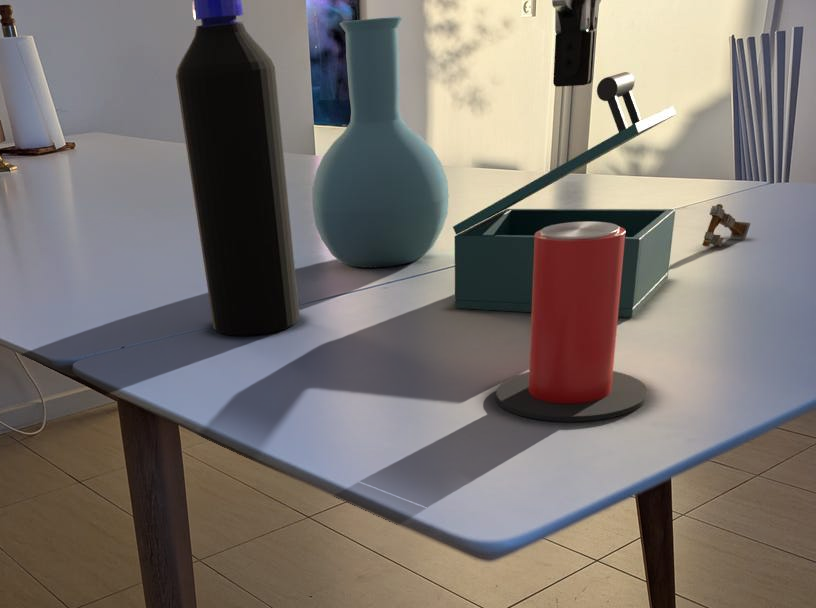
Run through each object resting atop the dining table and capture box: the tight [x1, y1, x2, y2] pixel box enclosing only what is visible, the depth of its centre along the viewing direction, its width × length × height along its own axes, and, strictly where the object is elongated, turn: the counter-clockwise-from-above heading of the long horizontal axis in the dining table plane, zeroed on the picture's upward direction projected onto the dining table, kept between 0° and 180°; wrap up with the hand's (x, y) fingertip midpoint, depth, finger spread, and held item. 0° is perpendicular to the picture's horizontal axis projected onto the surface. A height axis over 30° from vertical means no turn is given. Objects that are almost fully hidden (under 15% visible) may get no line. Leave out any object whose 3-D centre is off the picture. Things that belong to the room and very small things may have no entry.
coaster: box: [495, 370, 649, 423], centre depth 68 cm, size 11×11×1 cm
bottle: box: [175, 0, 300, 337], centre depth 85 cm, size 9×9×28 cm
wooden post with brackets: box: [701, 203, 751, 247], centre depth 106 cm, size 2×8×4 cm, turn 131°
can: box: [528, 222, 625, 404], centre depth 65 cm, size 6×6×11 cm
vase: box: [311, 15, 450, 268], centre depth 108 cm, size 17×16×25 cm
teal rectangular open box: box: [454, 208, 676, 319], centre depth 91 cm, size 18×15×7 cm
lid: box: [452, 71, 677, 236], centre depth 87 cm, size 18×15×5 cm
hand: (572, 84), depth 83 cm, fingers closed
